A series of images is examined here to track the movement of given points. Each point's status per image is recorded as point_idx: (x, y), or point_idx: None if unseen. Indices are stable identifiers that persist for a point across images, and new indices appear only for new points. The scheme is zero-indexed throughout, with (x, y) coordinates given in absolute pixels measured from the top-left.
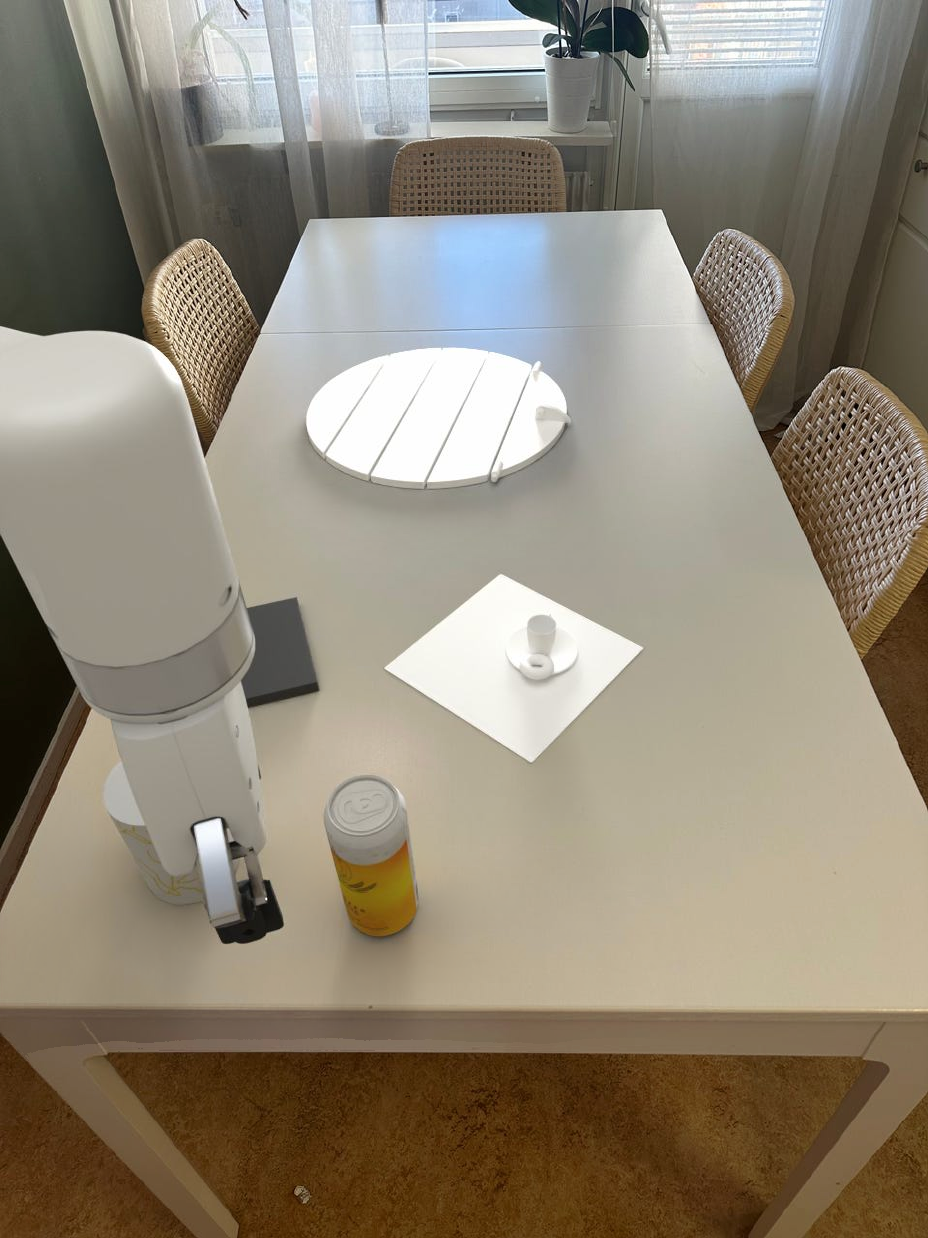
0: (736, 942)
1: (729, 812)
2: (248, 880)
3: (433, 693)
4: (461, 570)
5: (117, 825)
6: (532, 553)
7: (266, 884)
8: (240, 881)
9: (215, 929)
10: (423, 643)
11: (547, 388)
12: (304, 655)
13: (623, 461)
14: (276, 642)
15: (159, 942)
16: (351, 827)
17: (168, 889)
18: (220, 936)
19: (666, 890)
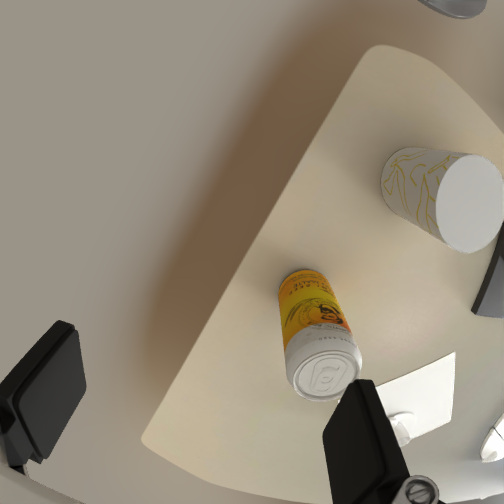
0: (185, 420)
1: (248, 449)
2: (15, 464)
3: (419, 371)
4: (468, 404)
5: (455, 155)
6: (446, 435)
7: (34, 458)
8: (19, 455)
9: (36, 343)
10: (450, 376)
11: (500, 456)
12: (494, 313)
13: (446, 473)
14: None
15: (366, 138)
16: (311, 362)
17: (397, 161)
18: (47, 332)
19: (224, 415)
